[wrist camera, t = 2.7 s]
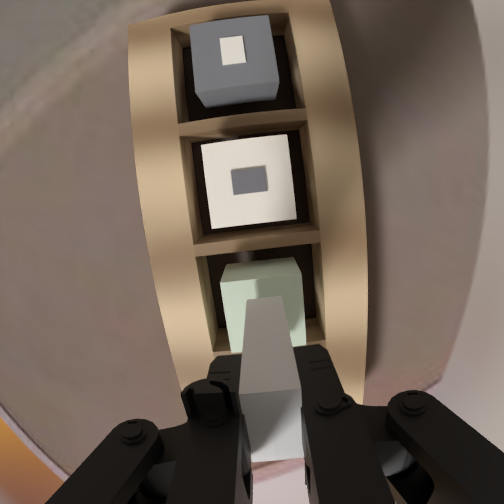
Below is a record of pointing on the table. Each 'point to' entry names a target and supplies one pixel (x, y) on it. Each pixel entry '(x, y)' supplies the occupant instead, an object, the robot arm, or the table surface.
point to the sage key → (263, 295)
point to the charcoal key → (234, 61)
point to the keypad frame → (315, 232)
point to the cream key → (249, 181)
